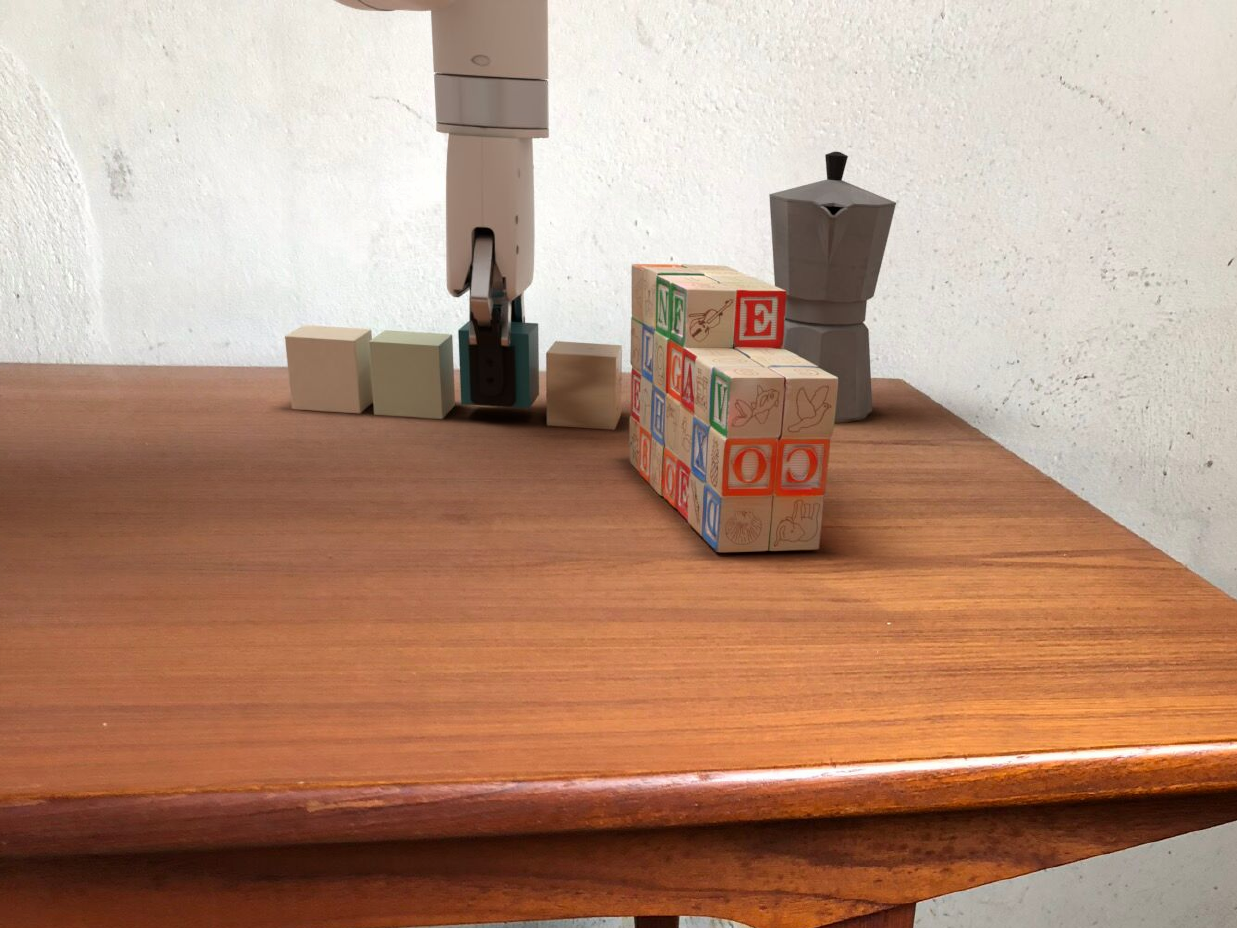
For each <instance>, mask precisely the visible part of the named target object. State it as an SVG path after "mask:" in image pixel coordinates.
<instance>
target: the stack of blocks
mask: <svg viewBox="0 0 1237 928" xmlns="http://www.w3.org/2000/svg"><path fill="white" fill-rule="evenodd" d="M630 271H631V291H630V293H631V317H630V353H629V354H630V357H629V359H630V360H629V361H630V362H629V363H630V366H631V375H630V377H631V379H630V395H631V396H630V414H631V415H630V416H629V463H630V464H631V465H632V466H633V467H634V469H636V471H637V472H638V474H639V475H640V476H641V477H642V478H643V479H644V480H645V481H646V482H647V483H648V484H649V485H650V487H651V488H653V490H654V491H655V492H656V493H657V494H658V495H659V496H661V497H663V498H664V499H665V500H666V501H667V502H668V503H669V504H670V505H671V506H672V507H673V508H674V509H676V510H677V511H678V512H679V514H680V515H681V516H682V517H684V519H685V520H686V521H687V523H688V525H690V526H691V527H692V529H694V530H695V531H696V532H697V533H698V534H699V535H700V536H701V537H702V538H703V540H704V541H706V543H707V544H708V545H709V546H710V547H711V548H712V549H713V550H714V551H715V552H716V553H747V552H748V553H749V552H751V553H752V552H785V551H814V550H819V549H820V541H821V532H822V527H823V526H822V525H823V511H824V501H825V494H826V493H827V492H826V491H827V482H828V471H829V462H830V461H829V460H830V451H831V450H830V448H831V438H832V437H833V435H834V429H835V423H834V419H835V412H836V401H837V391H838V377H836V376H834V375H832V374H830V373H828V372H826V371H824V370H822V369H820V368H819V367H818V366H816V365H815V364H813V363H811V362H809V361H807V360H805V359H803V358H801V357H799V356H798V355H796V354H794V353H792V352H790V351H788V350H785V349H782V348H783V338H784V322H785V310H786V291H785V290H783V289H781V288H778V287H776V286H775V284H774V285H773V284H771V283H768V282H766V281H764V280H762V279H759V278H758V277H755V276H750V275H747V274H745V273H743V272H740V271H738V269H735V268H732V267H730V266H728V265H716V264H690V263H689V264H687V263H681V264H680V265H679V264H669V263H668V264H666V263H664V264H663V263H647V264H646V263H633V264H631V270H630Z"/></svg>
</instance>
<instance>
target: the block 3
mask: <svg viewBox="0 0 1237 928" xmlns="http://www.w3.org/2000/svg"><path fill="white" fill-rule="evenodd" d="M545 362H546V363H545V364H546V365H545V374H546V375H545V380H546V381H545V385H546V387H545V389H546V390H545V391H546V392H545V393H546V395H545V396H546V426H548V427H561V428H562V427H563V428H578V429H596V430H607V431H608V430H609V431H615V430H616V428H617V425H618V423H619V421H620V418H621V415H622V379H623V378H622V377H623V370H622V369H623V345H622V344H607V343H594V342H593V343H591V342H576V341H560V340H555V341H554V342H553V343H552V345H551V346H550V347H549V349H548V350H547V351H546V353H545Z"/></svg>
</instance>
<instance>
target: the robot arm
mask: <svg viewBox="0 0 1237 928" xmlns="http://www.w3.org/2000/svg"><path fill="white" fill-rule="evenodd" d="M333 1H334V2H336V3H338V4H340V5H343V6H345V7H347V8H351V9H354V10H359V11H367V12H394V11H407V12H409V11H410V12H430V21H431V22H430V23H431V41H432V42H431V43H432V64H433V73H434V74H433V83H434V101H435V102H434V104H435V106H434V107H435V121H436V122H435V131H436V132H438V133H441V134H448V136H447V150H446V166H445V167H446V171H445V173H446V174H445V251H446V252H445V253H446V255H445V257H446V258H445V261H446V262H445V264H446V268H445V269H446V273H445V275H446V276H445V277H446V289H447V291H448V293H449V294H450V295H451V296H452V297H453V298H461V297H462V296H463V295H464V294H467V292H469V299H468V300H469V301H468V302H469V306H468V307H469V309H468V310H469V311H468V313H469V315H468V316H469V317H468V318H469V319H468V321H469V341H470V343H469V370H470V397H471V401H472V403H474V404H478V405H477V406H482V405H494V406H493V407H498V406H513V405H514V404H515V402H516V373H515V346H510V341H511V322H524V323H526V312H525V311H526V310H525V294H524V292H525V291H526V290H527V289H528V288H529V287H530V286H531V285H532V283H533V279H534V273H535V272H534V271H535V243H536V242H535V241H536V239H535V238H536V237H535V235H536V234H535V232H536V231H535V228H536V227H535V226H536V225H535V178H534V169H535V166H534V146H533V145H534V143H533V139H549V138H550V128H549V126H550V123H549V122H550V121H549V120H550V119H549V118H550V117H549V116H550V115H549V108H550V107H549V81H548V80H549V1H548V0H333Z"/></svg>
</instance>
